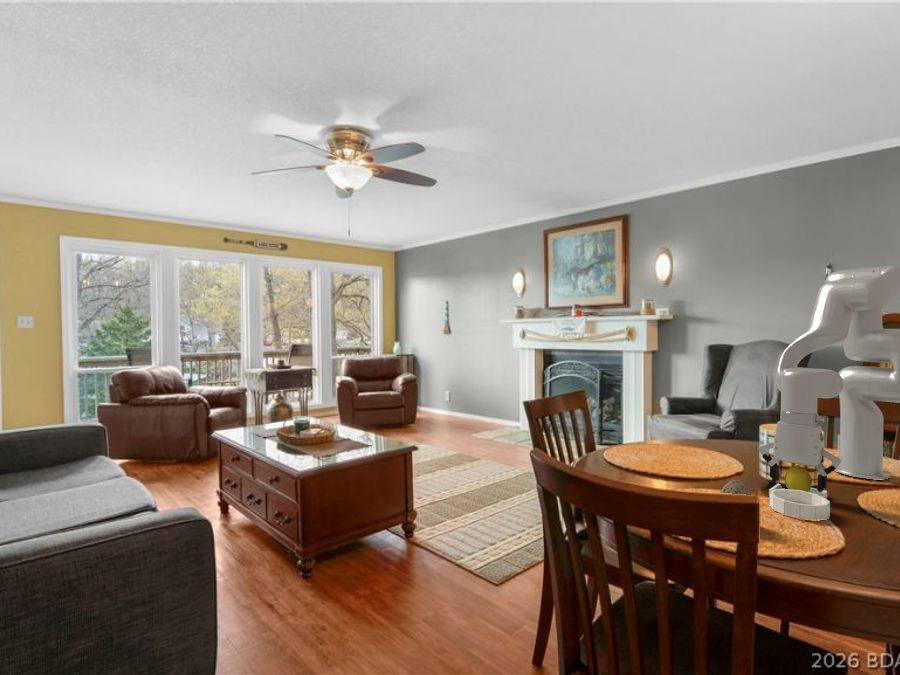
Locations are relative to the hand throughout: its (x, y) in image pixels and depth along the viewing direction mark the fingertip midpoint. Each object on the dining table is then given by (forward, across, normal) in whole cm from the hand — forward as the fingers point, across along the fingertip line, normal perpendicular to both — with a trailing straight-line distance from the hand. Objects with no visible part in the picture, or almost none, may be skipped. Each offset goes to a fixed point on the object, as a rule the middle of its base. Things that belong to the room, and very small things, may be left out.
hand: (797, 485), depth 121 cm
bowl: (+3, -3, +12) cm, 12 cm away
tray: (+3, 0, 0) cm, 3 cm away
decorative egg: (+3, +4, +31) cm, 31 cm away
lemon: (+3, 0, 0) cm, 3 cm away
